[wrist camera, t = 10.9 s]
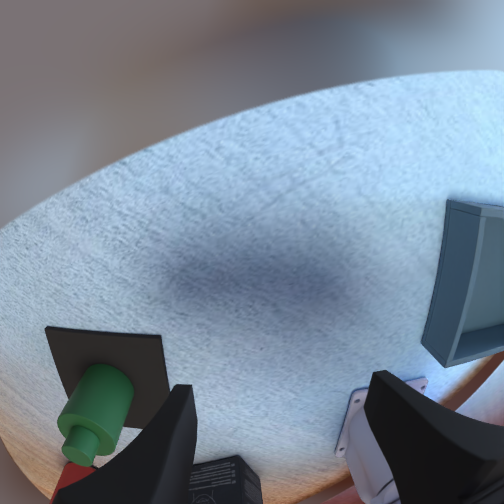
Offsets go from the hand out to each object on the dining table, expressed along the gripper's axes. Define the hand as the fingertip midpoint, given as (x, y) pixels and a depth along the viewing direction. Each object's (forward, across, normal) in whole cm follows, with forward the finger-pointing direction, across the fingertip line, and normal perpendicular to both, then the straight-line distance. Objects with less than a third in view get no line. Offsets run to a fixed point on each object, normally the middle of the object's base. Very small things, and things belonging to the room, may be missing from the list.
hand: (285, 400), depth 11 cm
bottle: (+9, +12, +8) cm, 17 cm away
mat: (+10, +12, +8) cm, 17 cm away
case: (+10, -20, -1) cm, 22 cm away
